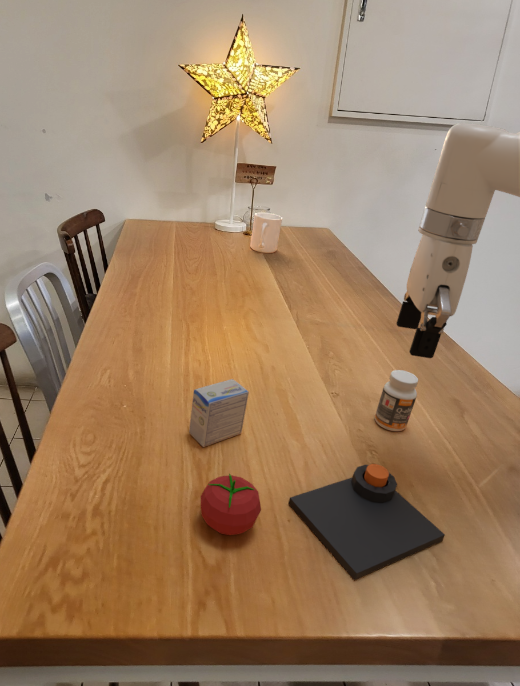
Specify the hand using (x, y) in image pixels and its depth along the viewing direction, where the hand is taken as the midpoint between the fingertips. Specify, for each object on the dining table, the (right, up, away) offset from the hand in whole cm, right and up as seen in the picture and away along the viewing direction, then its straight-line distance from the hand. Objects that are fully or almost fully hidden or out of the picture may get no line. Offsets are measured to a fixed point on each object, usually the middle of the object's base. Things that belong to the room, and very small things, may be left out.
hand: (413, 340), depth 79 cm
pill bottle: (+3, -15, +19) cm, 24 cm away
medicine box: (-29, -15, +10) cm, 34 cm away
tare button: (-6, -20, 0) cm, 21 cm away
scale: (-8, -25, -4) cm, 27 cm away
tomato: (-27, -25, -7) cm, 38 cm away
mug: (-13, +33, +108) cm, 114 cm away
